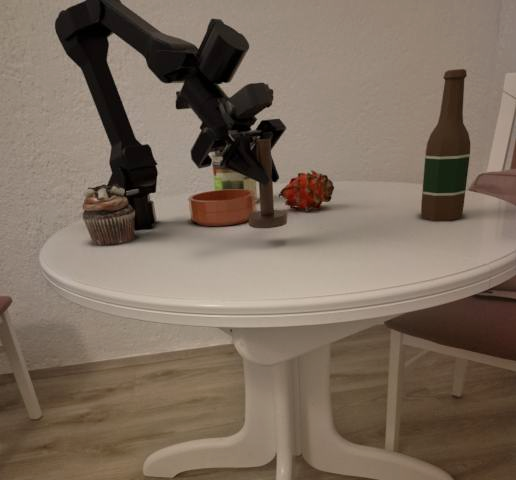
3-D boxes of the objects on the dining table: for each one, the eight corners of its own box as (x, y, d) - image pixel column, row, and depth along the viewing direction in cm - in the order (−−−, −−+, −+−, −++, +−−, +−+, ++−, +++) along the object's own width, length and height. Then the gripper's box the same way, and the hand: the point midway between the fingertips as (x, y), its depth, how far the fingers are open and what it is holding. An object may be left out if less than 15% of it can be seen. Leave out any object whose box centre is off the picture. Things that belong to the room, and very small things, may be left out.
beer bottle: (455, 222, 85) (473, 67, 74) (412, 219, 90) (423, 72, 79) (468, 213, 91) (487, 67, 80) (427, 210, 95) (440, 71, 84)
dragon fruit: (339, 215, 104) (284, 227, 105) (331, 186, 108) (279, 198, 109) (338, 186, 96) (279, 199, 98) (329, 157, 100) (273, 170, 102)
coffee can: (225, 208, 111) (218, 143, 105) (210, 202, 120) (203, 141, 113) (265, 202, 115) (261, 138, 108) (247, 196, 123) (243, 137, 117)
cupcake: (77, 245, 90) (63, 190, 85) (110, 232, 98) (100, 180, 93) (117, 247, 86) (105, 190, 82) (149, 234, 94) (140, 180, 89)
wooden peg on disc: (249, 229, 77) (243, 142, 71) (248, 221, 83) (242, 139, 77) (289, 226, 77) (286, 139, 71) (285, 218, 83) (282, 136, 77)
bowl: (189, 229, 95) (185, 203, 93) (194, 215, 107) (191, 192, 105) (257, 224, 95) (256, 198, 93) (254, 210, 107) (253, 187, 105)
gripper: (194, 63, 65) (264, 150, 64) (273, 63, 78) (333, 136, 77) (163, 127, 73) (225, 206, 72) (240, 119, 86) (293, 185, 85)
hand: (272, 181), depth 76 cm, fingers closed on wooden peg on disc, 2 cm apart
